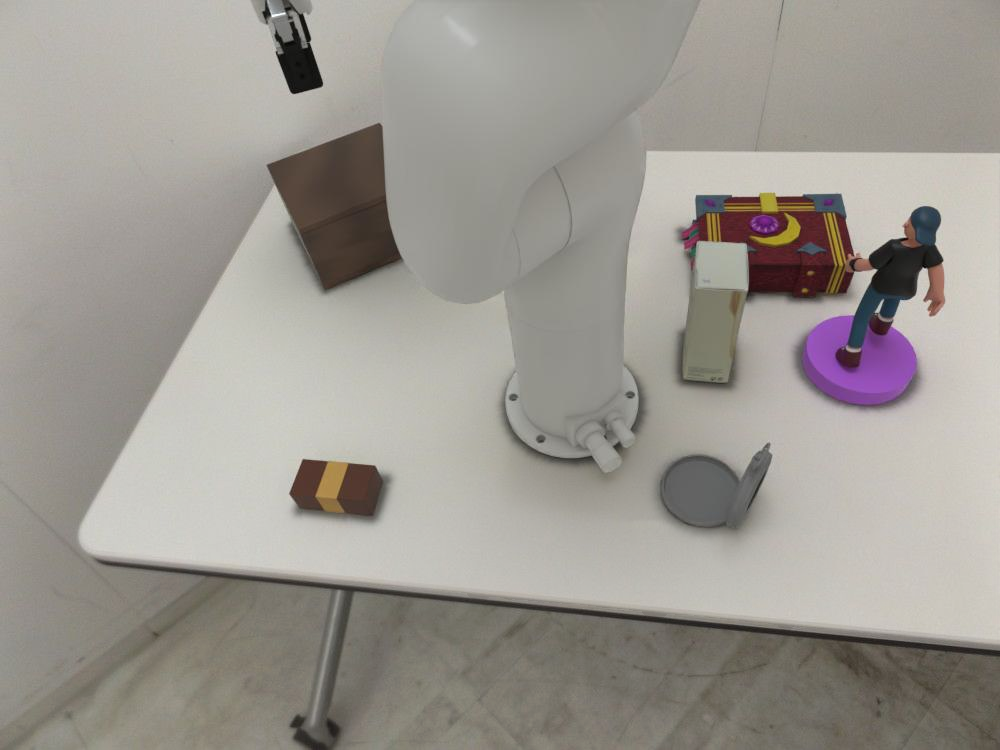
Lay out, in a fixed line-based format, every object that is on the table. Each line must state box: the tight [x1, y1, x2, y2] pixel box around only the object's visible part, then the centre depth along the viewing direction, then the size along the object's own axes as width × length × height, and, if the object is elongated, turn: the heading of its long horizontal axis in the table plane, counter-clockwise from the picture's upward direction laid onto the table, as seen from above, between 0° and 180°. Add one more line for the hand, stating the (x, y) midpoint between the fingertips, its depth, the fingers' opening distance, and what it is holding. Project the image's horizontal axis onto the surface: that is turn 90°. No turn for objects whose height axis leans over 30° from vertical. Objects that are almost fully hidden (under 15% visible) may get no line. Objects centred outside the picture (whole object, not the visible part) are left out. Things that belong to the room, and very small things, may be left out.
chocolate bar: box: [288, 458, 384, 517], centre depth 62 cm, size 4×7×3 cm, turn 80°
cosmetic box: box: [682, 241, 749, 384], centre depth 63 cm, size 6×4×12 cm
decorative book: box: [681, 192, 856, 298], centre depth 73 cm, size 11×16×5 cm
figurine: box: [801, 205, 946, 406], centre depth 58 cm, size 9×9×18 cm
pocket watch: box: [660, 442, 773, 529], centre depth 54 cm, size 8×8×10 cm
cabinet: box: [266, 122, 403, 291], centre depth 82 cm, size 15×14×9 cm
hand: (302, 65), depth 68 cm, fingers open, 9 cm apart
